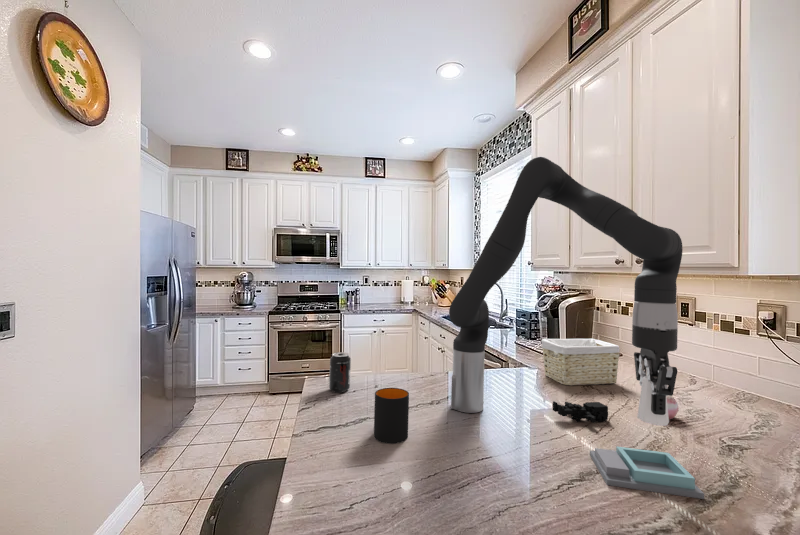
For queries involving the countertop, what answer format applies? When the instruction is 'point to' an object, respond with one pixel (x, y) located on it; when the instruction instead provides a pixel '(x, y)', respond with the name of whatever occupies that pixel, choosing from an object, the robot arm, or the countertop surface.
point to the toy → (583, 411)
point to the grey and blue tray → (645, 471)
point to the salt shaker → (645, 406)
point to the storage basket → (580, 361)
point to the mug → (391, 415)
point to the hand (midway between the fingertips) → (652, 409)
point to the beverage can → (340, 372)
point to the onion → (672, 407)
